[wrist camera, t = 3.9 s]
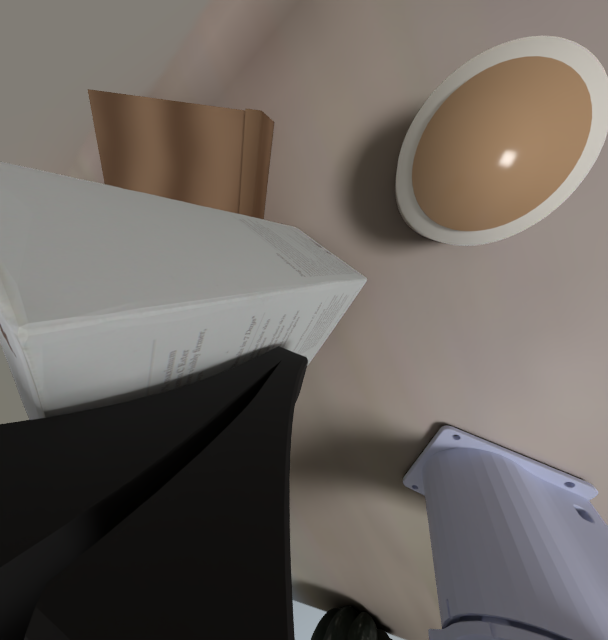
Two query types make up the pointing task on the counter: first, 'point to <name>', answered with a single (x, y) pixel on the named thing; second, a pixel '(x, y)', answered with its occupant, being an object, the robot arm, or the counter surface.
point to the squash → (347, 626)
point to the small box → (148, 291)
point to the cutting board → (184, 150)
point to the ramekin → (503, 141)
